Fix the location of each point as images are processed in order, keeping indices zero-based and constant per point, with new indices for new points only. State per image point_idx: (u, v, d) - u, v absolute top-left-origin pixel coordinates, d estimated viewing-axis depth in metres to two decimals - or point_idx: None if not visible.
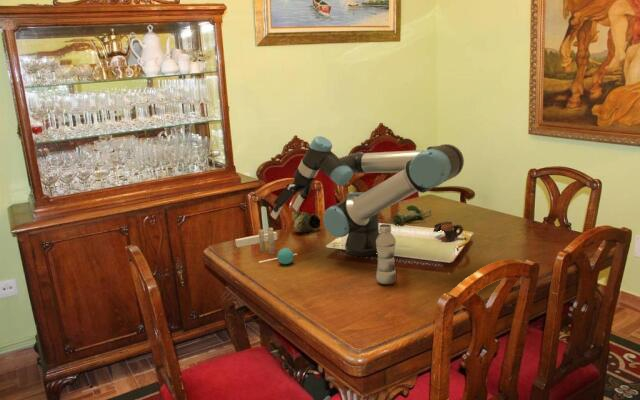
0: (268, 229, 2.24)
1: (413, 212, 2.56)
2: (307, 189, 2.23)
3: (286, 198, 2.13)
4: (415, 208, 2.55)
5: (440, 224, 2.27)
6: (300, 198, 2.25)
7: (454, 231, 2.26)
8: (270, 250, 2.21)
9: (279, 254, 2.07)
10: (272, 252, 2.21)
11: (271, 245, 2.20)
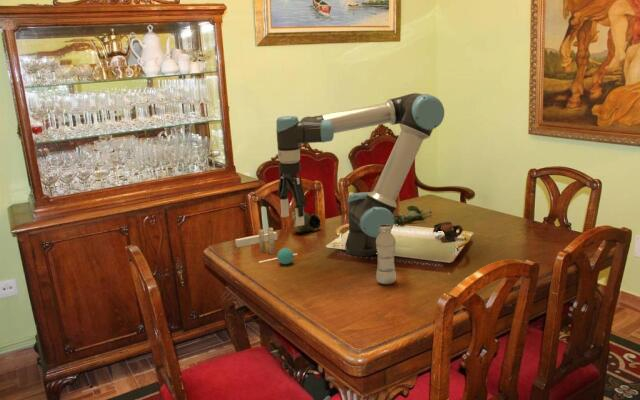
0: (268, 229, 2.24)
1: (414, 212, 2.55)
2: None
3: None
4: (416, 208, 2.55)
5: (440, 224, 2.27)
6: (285, 201, 2.02)
7: (454, 231, 2.25)
8: (270, 250, 2.21)
9: (279, 254, 2.07)
10: (272, 252, 2.21)
11: (271, 245, 2.20)
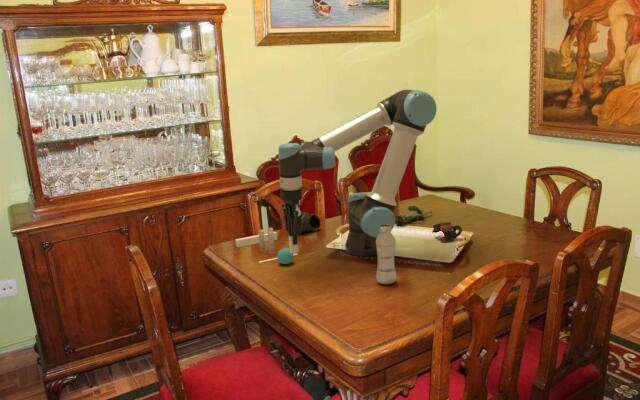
0: (268, 229, 2.24)
1: (414, 212, 2.55)
2: None
3: None
4: (416, 208, 2.55)
5: (439, 225, 2.26)
6: None
7: (453, 232, 2.25)
8: (270, 250, 2.21)
9: (279, 254, 2.07)
10: (272, 252, 2.21)
11: (271, 245, 2.20)
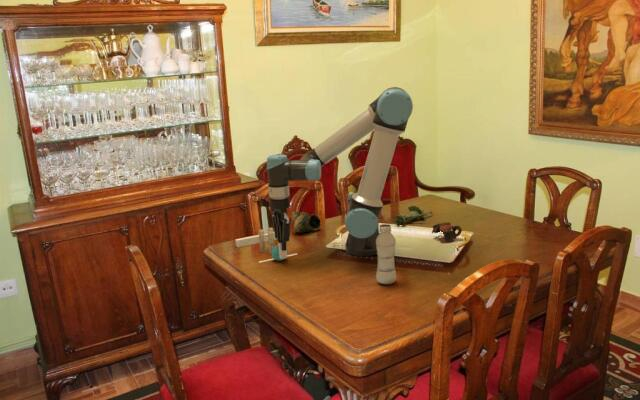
0: (268, 229, 2.24)
1: (415, 212, 2.54)
2: None
3: None
4: (417, 208, 2.54)
5: (439, 225, 2.26)
6: None
7: (453, 232, 2.25)
8: (270, 250, 2.21)
9: (272, 251, 2.13)
10: None
11: (271, 245, 2.20)
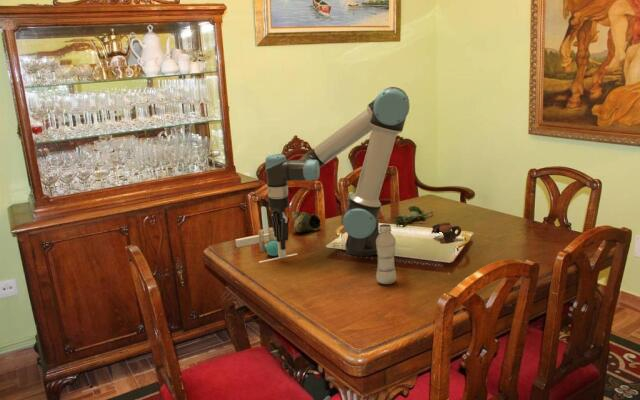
0: (268, 229, 2.24)
1: (415, 213, 2.54)
2: None
3: None
4: (417, 209, 2.54)
5: (438, 225, 2.26)
6: None
7: (452, 232, 2.24)
8: None
9: None
10: None
11: None
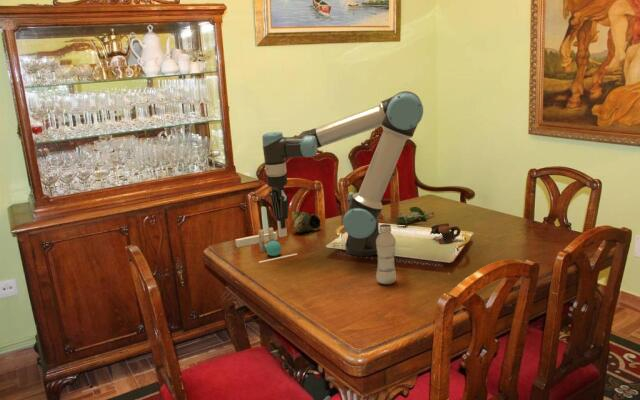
0: (268, 229, 2.24)
1: (416, 213, 2.53)
2: None
3: None
4: (418, 209, 2.53)
5: (437, 226, 2.25)
6: None
7: (451, 233, 2.24)
8: None
9: None
10: None
11: None
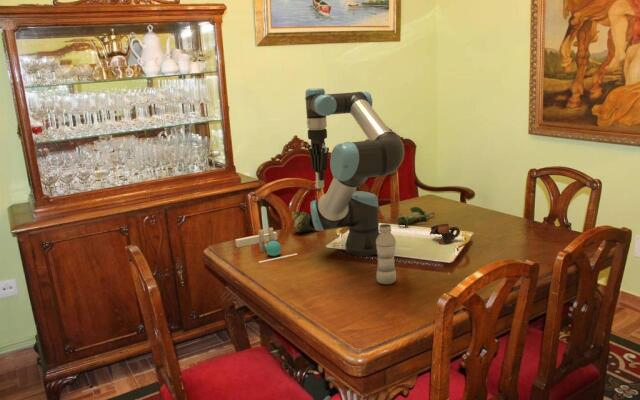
0: (268, 229, 2.24)
1: (417, 214, 2.53)
2: None
3: None
4: (419, 209, 2.53)
5: (437, 226, 2.24)
6: None
7: (451, 233, 2.23)
8: None
9: None
10: None
11: (265, 246, 2.26)
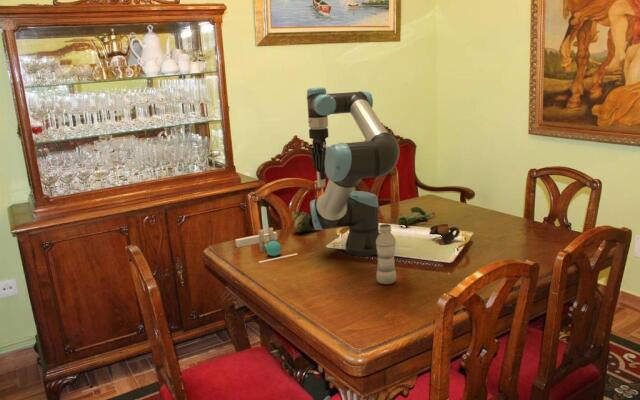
0: (268, 229, 2.24)
1: (418, 214, 2.52)
2: None
3: None
4: (420, 210, 2.52)
5: (436, 226, 2.24)
6: None
7: (451, 233, 2.23)
8: None
9: None
10: None
11: (265, 246, 2.26)
